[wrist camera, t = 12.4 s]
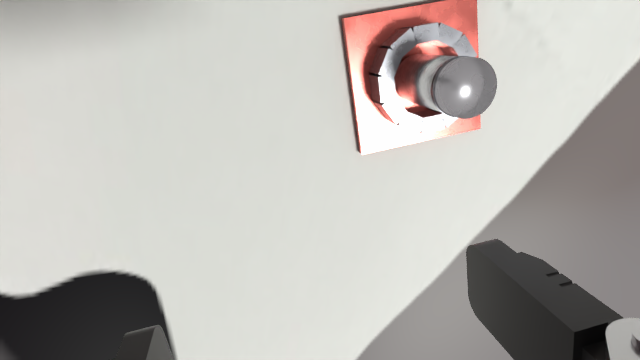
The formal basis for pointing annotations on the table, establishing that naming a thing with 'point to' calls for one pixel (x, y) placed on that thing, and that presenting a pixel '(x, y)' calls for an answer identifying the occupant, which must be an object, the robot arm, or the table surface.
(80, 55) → the table surface
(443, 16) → the collar
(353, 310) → the table surface
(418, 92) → the cylinder
